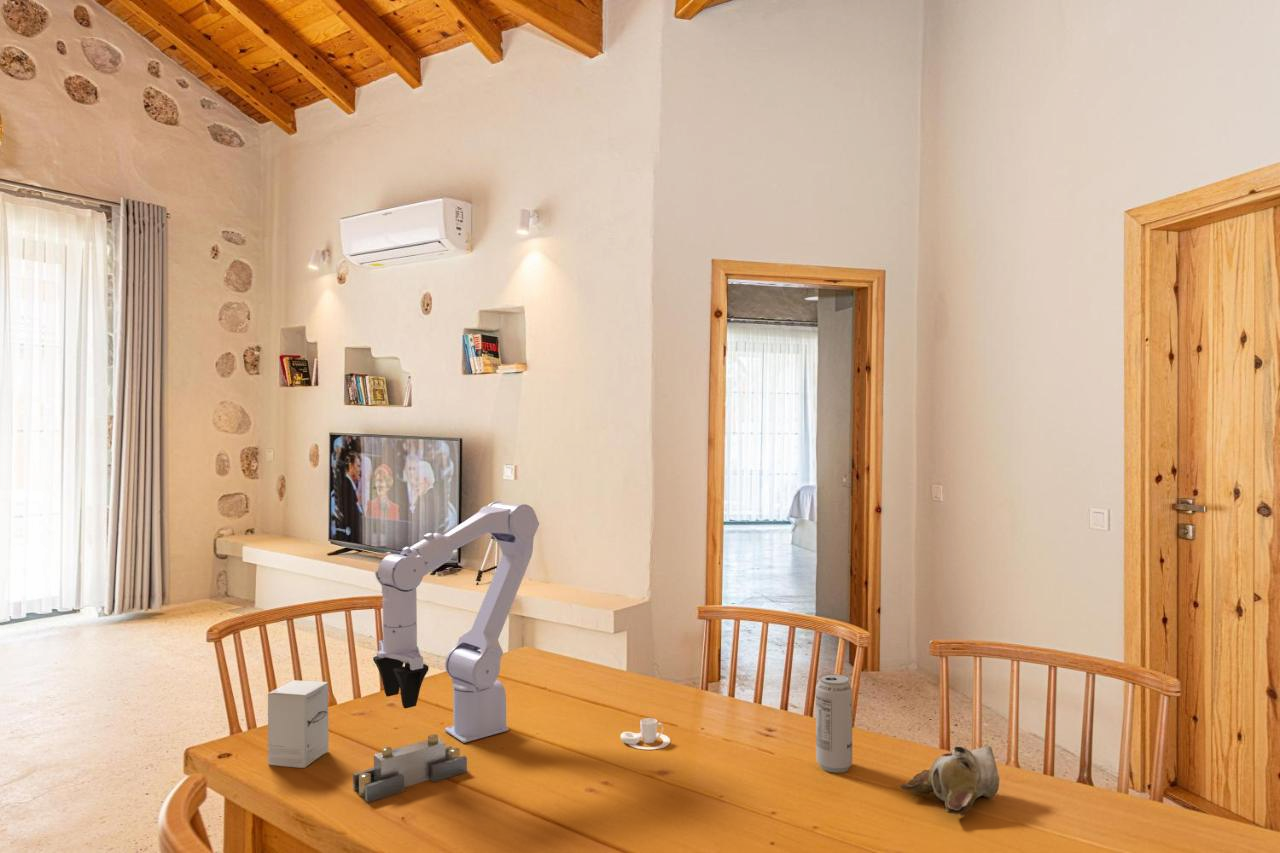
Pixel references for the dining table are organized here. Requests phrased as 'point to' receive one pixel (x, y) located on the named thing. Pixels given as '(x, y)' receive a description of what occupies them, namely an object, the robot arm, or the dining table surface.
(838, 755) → the energy drink can
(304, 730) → the supplement box
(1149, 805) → the dining table surface
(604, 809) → the dining table surface
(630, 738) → the teacup and saucer
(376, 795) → the end link
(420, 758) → the block with brass knobs
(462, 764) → the end link
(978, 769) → the ceramic sculpture
